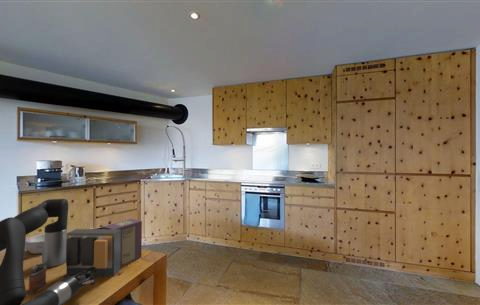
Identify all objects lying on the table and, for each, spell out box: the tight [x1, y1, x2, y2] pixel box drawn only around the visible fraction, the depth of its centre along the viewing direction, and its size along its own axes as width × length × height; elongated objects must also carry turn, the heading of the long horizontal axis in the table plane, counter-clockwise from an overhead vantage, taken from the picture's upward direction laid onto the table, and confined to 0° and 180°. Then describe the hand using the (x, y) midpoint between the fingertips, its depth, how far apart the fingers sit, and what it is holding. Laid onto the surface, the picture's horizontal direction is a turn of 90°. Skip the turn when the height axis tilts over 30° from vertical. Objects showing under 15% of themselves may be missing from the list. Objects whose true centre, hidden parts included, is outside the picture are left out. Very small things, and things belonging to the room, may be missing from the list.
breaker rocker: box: [94, 240, 108, 268], centre depth 108 cm, size 5×3×12 cm, turn 90°
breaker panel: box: [65, 228, 121, 277], centre depth 113 cm, size 22×8×20 cm, turn 90°
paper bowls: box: [25, 233, 45, 255], centre depth 140 cm, size 15×15×8 cm
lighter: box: [27, 262, 48, 295], centre depth 101 cm, size 8×3×10 cm, turn 5°
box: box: [102, 218, 143, 268], centre depth 127 cm, size 17×9×20 cm, turn 153°
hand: (94, 269), depth 102 cm, fingers closed
